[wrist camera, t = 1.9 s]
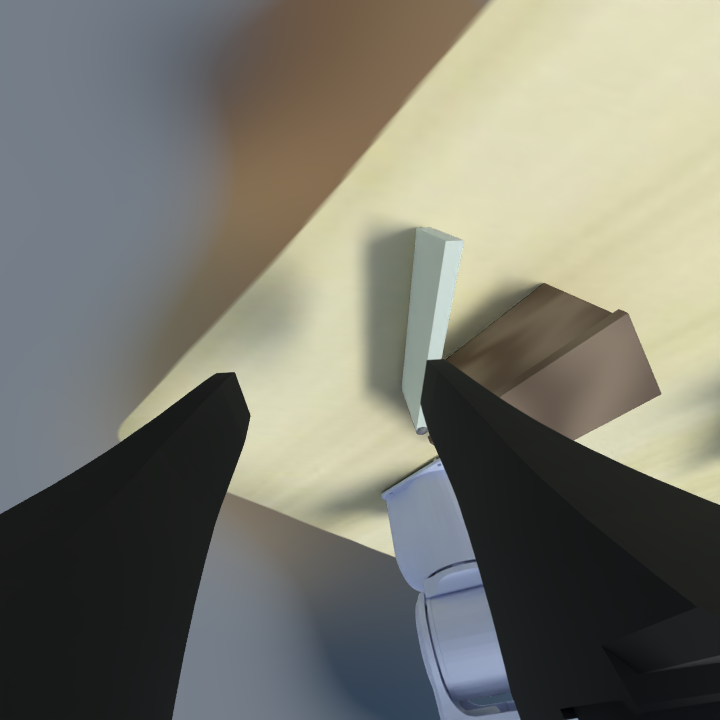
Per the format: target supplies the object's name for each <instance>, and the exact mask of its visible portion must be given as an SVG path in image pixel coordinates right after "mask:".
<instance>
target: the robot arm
mask: <svg viewBox="0 0 720 720" xmlns="http://www.w3.org/2000/svg"><path fill="white" fill-rule="evenodd" d="M420 404H421V408H422V412H423V416H424V419H425V423H426V426H427V429H428V431H429V434H430V436H431V439H432V441H433V443H434V446H435V448H436V450H437V453H438V455H439V457H440V458H438V459H437V460H435V461H433V462H432V463H430V464H429V465H427V466H425V467H424V468H422V469H421V470H419V471H417V472H416V473H414V474H412V475H411V476H409V477H408V478H406V479H404V480H403V481H401V482H399V483H398V484H396V485H395V486H393V487H391V488H390V489H388V490H387V491H385V492H383V493H382V494H381V497H382V499H384V500H386V503H387V509H388V515H389V521H390V527H391V533H392V539H393V545H394V551H395V556H396V559H397V563H398V565H399V568H400V570H401V572H402V574H403V576H404V578H405V580H406V581H407V582H408V584H410V586H411V587H413V588H414V589H415V590H417V591H420V592H421V593H420V594H419V597H418V601H417V604H416V624H417V631H418V637H419V643H420V647H421V652H422V656H423V660H424V664H425V667H426V671H427V674H428V676H429V680H430V682H431V685H432V687H433V690H434V694H435V698H436V702H437V706H438V710H439V714H440V718H441V720H720V505H718V504H716V503H713V502H711V501H708V500H706V499H703V498H701V497H698V496H696V495H693V494H691V493H689V492H686V491H684V490H681V489H679V488H676V487H674V486H672V485H669V484H667V483H664V482H662V481H660V480H657V479H655V478H652V477H650V476H648V475H646V474H643V473H641V472H639V471H637V470H634V469H632V468H630V467H627V466H625V465H623V464H621V463H619V462H617V461H615V460H612V459H610V458H608V457H606V456H604V455H602V454H600V453H598V452H596V451H593V450H591V449H589V448H587V447H585V446H583V445H581V444H579V443H577V442H575V441H573V440H571V439H569V438H568V437H566V436H564V435H562V434H560V433H558V432H556V431H555V430H553V429H551V428H549V427H547V426H545V425H544V424H542V423H540V422H538V421H537V420H535V419H533V418H531V417H530V416H528V415H526V414H525V413H523V412H522V411H520V410H518V409H517V408H515V407H514V406H512V405H510V404H509V403H507V402H506V401H504V400H503V399H501V398H500V397H498V396H497V395H495V394H494V393H492V392H491V391H489V390H488V389H486V388H485V387H483V386H482V385H480V384H479V383H478V382H476V381H475V380H473V379H472V378H471V377H469V376H468V375H466V374H465V373H464V372H462V371H461V370H459V369H458V368H457V367H455V366H454V365H452V364H451V363H449V362H448V361H446V360H445V359H434V360H427V361H426V368H425V374H424V381H423V387H422V394H421V401H420ZM250 416H251V415H250V413H249V410H248V407H247V404H246V402H245V399H244V396H243V393H242V391H241V388H240V385H239V383H238V380H237V377H236V374H235V372H230V373H216V374H214V375H213V376H211V377H210V378H208V379H207V380H205V381H204V382H203V383H201V384H200V385H199V386H197V387H196V388H195V389H193V390H192V391H191V392H189V393H188V394H187V395H185V396H184V397H183V398H181V399H180V400H179V401H177V402H176V403H175V404H173V405H172V406H171V407H169V408H168V409H167V410H165V411H164V412H163V413H161V414H160V415H159V416H157V417H156V418H154V419H153V420H152V421H150V422H149V423H147V424H146V425H144V426H143V427H142V428H140V429H139V430H137V431H136V432H134V433H133V434H132V435H130V436H129V437H127V438H126V439H124V440H123V441H122V442H120V443H119V444H117V445H116V446H114V447H113V448H111V449H110V450H108V451H107V452H105V453H104V454H102V455H101V456H99V457H97V458H96V459H94V460H93V461H91V462H89V463H88V464H86V465H85V466H83V467H81V468H80V469H78V470H76V471H75V472H74V473H72V474H70V475H68V476H67V477H65V478H63V479H62V480H60V481H58V482H57V483H55V484H53V485H52V486H50V487H48V488H46V489H45V490H43V491H41V492H39V493H37V494H36V495H34V496H32V497H30V498H28V499H27V500H25V501H23V502H21V503H19V504H18V505H16V506H14V507H12V508H10V509H9V510H7V511H5V512H3V513H2V514H0V720H172V716H173V710H174V705H175V699H176V694H177V688H178V683H179V678H180V673H181V667H182V662H183V657H184V652H185V647H186V642H187V638H188V633H189V628H190V624H191V619H192V615H193V610H194V605H195V601H196V597H197V593H198V589H199V585H200V580H201V576H202V572H203V568H204V564H205V560H206V556H207V552H208V549H209V545H210V541H211V538H212V534H213V530H214V526H215V523H216V520H217V517H218V514H219V511H220V508H221V505H222V503H223V500H224V497H225V495H226V492H227V489H228V487H229V484H230V481H231V478H232V476H233V473H234V470H235V468H236V465H237V462H238V460H239V457H240V454H241V451H242V449H243V446H244V443H245V439H246V435H247V430H248V425H249V421H250ZM506 693H511V694H512V697H513V700H514V701H509V702H503V703H496V704H490V705H484V706H483V705H475V704H473V703H471V702H470V701H469V700H471V699H477V698H482V697H489V696H494V695H501V694H506Z"/></svg>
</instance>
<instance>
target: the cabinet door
mask: <svg viewBox="0 0 720 720" xmlns="http://www.w3.org/2000/svg"><path fill="white" fill-rule="evenodd" d="M463 244H464V240H462V239H459V238H457V237H454V236H452V235H449V234H446V233H444V232H441V231H439V230H436V229H433V228H431V227H425V228H417V230H416V241H415V251H414V262H413V273H412V283H411V294H410V305H409V315H408V326H407V336H406V347H405V358H404V368H403V379H402V391H403V394H404V397H405V400H406V403H407V406H408V409H409V412H410V415H411V418H412V421H413V424H414V427H415V430H416V433H417V434H419V435H423V434H425V433H426V432H427V431H428V429H427V426H426V423H425V419H424V416H423V412H422V408H421V404H420V401H421V394H422V387H423V381H424V374H425V368H426V361H427V360H434V359H441V358H442V353H443V348H444V343H445V338H446V332H447V327H448V322H449V317H450V311H451V306H452V301H453V296H454V291H455V285H456V280H457V275H458V270H459V264H460V259H461V254H462V249H463Z"/></svg>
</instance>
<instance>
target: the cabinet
mask: <svg viewBox="0 0 720 720" xmlns="http://www.w3.org/2000/svg"><path fill="white" fill-rule="evenodd" d="M446 361H448V362H449V363H451V364H452V365H454V366H455V367H457V368H458V369H459V370H461V371H462V372H464V373H465V374H466V375H468V376H469V377H471V378H472V379H473V380H475V381H476V382H478V383H479V384H480V385H482V386H483V387H485V388H486V389H488V390H489V391H491V392H492V393H494V394H495V395H497V396H498V397H500V398H501V399H503V400H504V401H506V402H507V403H509V404H510V405H512V406H514V407H515V408H517V409H518V410H520V411H522V412H523V413H525V414H526V415H528V416H530V417H531V418H533V419H535V420H537V421H538V422H540V423H542V424H544V425H545V426H547V427H549V428H551V429H553V430H555V431H556V432H558V433H560V434H562V435H564V436H566V437H568V438H569V439H571V440H575V439H577V438H579V437H581V436H583V435H585V434H587V433H589V432H591V431H592V430H594V429H596V428H598V427H600V426H602V425H604V424H606V423H608V422H610V421H611V420H613V419H615V418H617V417H619V416H621V415H623V414H625V413H627V412H629V411H630V410H632V409H634V408H636V407H638V406H640V405H642V404H644V403H646V402H648V401H649V400H651V399H653V398H655V397H657V396H659V395H661V391H660V389H659V387H658V384H657V382H656V379H655V377H654V375H653V372H652V370H651V367H650V365H649V362H648V360H647V358H646V355H645V353H644V350H643V348H642V346H641V343H640V341H639V338H638V336H637V333H636V331H635V329H634V326H633V324H632V321H631V319H630V317H629V314H628V313H627V312H624V311H622V310H620V309H618V310H617V311H615V312H614V313H611V312H609V311H607V310H604V309H602V308H600V307H598V306H595V305H593V304H591V303H589V302H586V301H584V300H582V299H579V298H577V297H575V296H573V295H570V294H568V293H566V292H564V291H561V290H559V289H557V288H555V287H552V286H550V285H548V284H545V283H544V284H543V285H541V286H540V287H539V288H537V289H536V290H535V291H534V292H532V293H531V294H530V295H528V296H527V297H526V298H525V299H523V300H522V301H521V302H519V303H518V304H517V305H516V306H514V307H513V308H512V309H511V310H509V311H508V312H507V313H505V314H504V315H503V316H502V317H500V318H499V319H498V320H496V321H495V322H494V323H493V324H491V325H490V326H489V327H487V328H486V329H485V330H484V331H482V332H481V333H480V334H478V335H477V336H476V337H475V338H473V339H472V340H471V341H469V342H468V343H467V344H466V345H464V346H463V347H462V348H460V349H459V350H458V351H457V352H455V353H454V354H453V355H451V356H450V357H449V358H448V359H446ZM428 439H429V441H430V443H431V444H433V445H434V443H433V441H432V439H431V436H428Z"/></svg>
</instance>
